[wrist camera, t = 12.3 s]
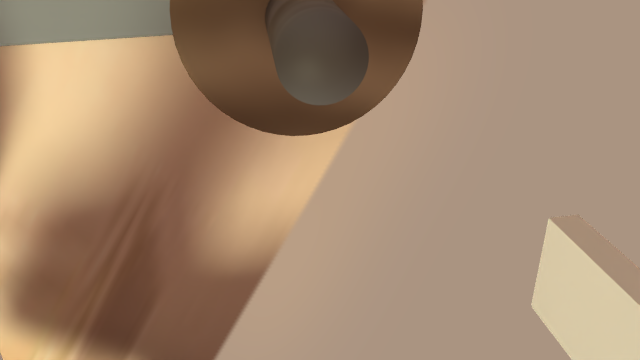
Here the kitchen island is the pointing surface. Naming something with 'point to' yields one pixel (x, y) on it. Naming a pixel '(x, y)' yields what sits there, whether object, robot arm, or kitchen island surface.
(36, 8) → the slate mat
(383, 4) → the wooden lid with knob
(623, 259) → the robot arm
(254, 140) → the kitchen island surface
